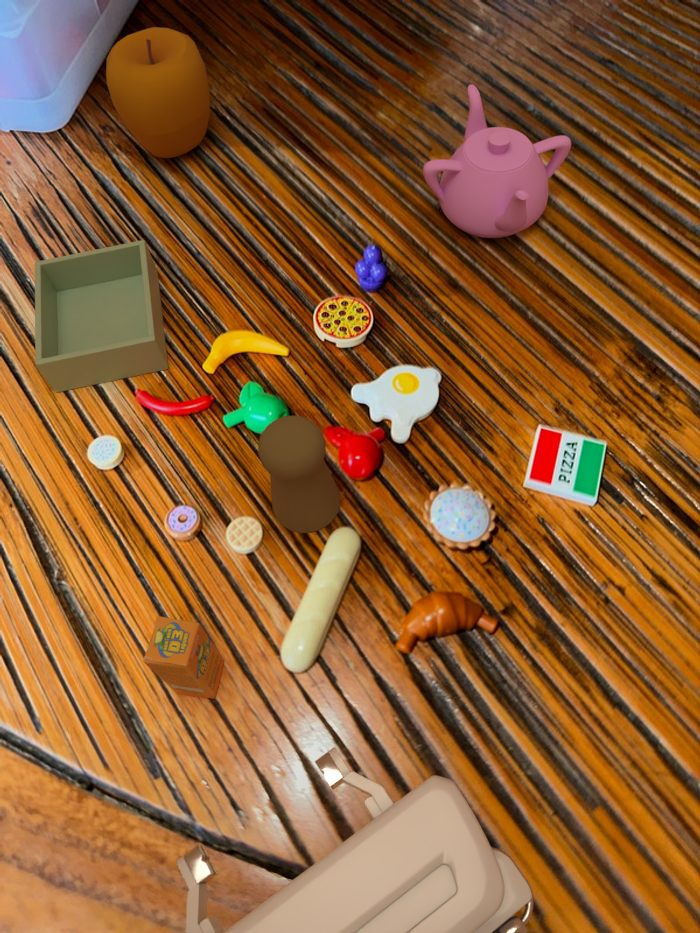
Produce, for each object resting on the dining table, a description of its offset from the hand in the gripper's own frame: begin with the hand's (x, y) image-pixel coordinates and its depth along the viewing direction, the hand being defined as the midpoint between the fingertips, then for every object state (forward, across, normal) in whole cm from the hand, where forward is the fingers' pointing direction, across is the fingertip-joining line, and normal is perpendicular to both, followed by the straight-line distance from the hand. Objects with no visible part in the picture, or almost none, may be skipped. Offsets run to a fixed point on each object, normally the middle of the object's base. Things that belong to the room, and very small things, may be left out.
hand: (259, 802), depth 45 cm
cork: (+20, -15, +11) cm, 27 cm away
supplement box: (+12, 0, +11) cm, 16 cm away
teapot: (+39, -50, +11) cm, 64 cm away
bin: (+49, -9, +11) cm, 51 cm away
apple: (+69, -27, +11) cm, 75 cm away
